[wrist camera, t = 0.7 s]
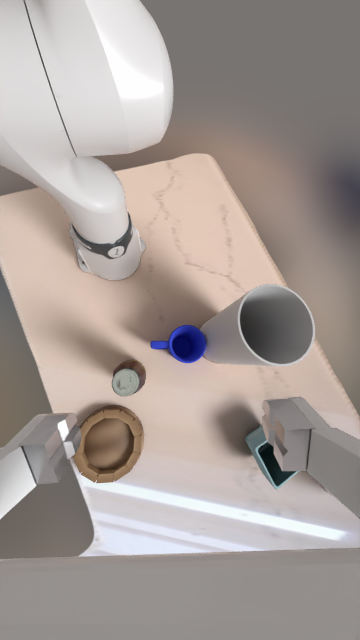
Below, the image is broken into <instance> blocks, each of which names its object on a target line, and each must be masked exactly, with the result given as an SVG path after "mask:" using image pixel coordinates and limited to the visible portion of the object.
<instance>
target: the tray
mask: <svg viewBox="0 0 360 640" xmlns="http://www.w3.org/2000/svg"><path fill="white" fill-rule="evenodd" d="M80 430H81V442H80V446H79V448H78V450H77V452H76V453H75V454H74V455H75V456H74V457H73V458H74V460H75V463H76V465H77V467H78V470H79V472H80V473H81V472H82V471H83V472H82V473H81V475H83V476H85V477H86V478H88V479H89V480H91V481H93V482H94V483H95V482H96V480H97V482H96V483H107V482H114V480H115V481H117V480H118V479H120V478H121V477H122V476H124V475H125V474H127V473H128V472H130V470H132V468H133V466H134V465H135V464H136V462H137V461H138V459H139V457H140V455H141V452H142V449H143V443H144V432H143V427H142V424H141V422H140V420H139V418H138V417H137V416H136V415H135V414H134V413H133V412H132V411H131V410H129V409H127V408H125V407H121V406H107V407H104V408H101V409H99V410H97V411H95V412H94V413H92V414H91V415H90V416H89V417H88V418H87V419H86V420H85V421H84V422H83V424H82V425H81V427H80Z"/></svg>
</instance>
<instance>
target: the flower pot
mask: <svg viewBox="0 0 360 640" xmlns="http://www.w3.org/2000/svg"><path fill="white" fill-rule="evenodd" d="M245 440H246V442H247V444H248V446H249V448H250V450H251V452H252V454H253V456H254V458H255V460H256V462H257V464H258V466H259V468H260V470H261V471H262V473H263V474H264V475H265V477H266V478H267V479H268V481H269V482H270V483H271V484H272V486H273V487H274V488H275V489H276V490H277V489H279V488H280V487H281V486H282V485H284V484H285V483H286V482H287V481H288V480H289V479H290V478H292V477H293V476H294V475H295V474H297V473H298V472H299V471H282V469H281V467H280V465H279V463H278V461H277V459H276V457H275V455H274V447H273V446H272V445H271V444H269V443H268V441H267V439H266V437H265V434H264V430H263V425H261V426H260V427H258V428H257V429H255V430H254V431H253V432H251V433H250V434H248V435H247V436H246V438H245ZM261 446H262V448H261Z"/></svg>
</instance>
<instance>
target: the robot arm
mask: <svg viewBox="0 0 360 640" xmlns="http://www.w3.org/2000/svg"><path fill="white" fill-rule="evenodd" d="M172 105H173V79H172V71H171V65H170V60H169V56H168V52H167V49H166V46H165V44H164V41H163V38H162V36H161V33H160V31H159V29H158V27H157V25H156V23H155V22H154V20H153V18H152V17H151V15H150V14H149V13H148V12H147V10H146V8H145V7H144V6H143V4H142V3H141V2H140V0H0V165H1V166H3V167H5V168H7V169H9V170H11V171H13V172H15V173H17V174H19V175H21V176H22V177H24V178H26V179H27V180H29V181H31V182H32V183H34V184H35V185H37V186H38V187H40V188H41V189H42V190H44V191H45V192H46V193H48V194H49V195H50V196H51V197H52V198H54V199H55V200H56V201H57V202H58V204H59V205H60V206H61V208H62V209H63V210H64V212H65V213H66V215H67V216H68V218H69V219H70V221H71V222H70V228H71V229H70V230H68V231H69V234H70V237H71V238H72V239H73V241H74V245H75V249H76V253H77V258H78V262H79V266H80V269H81V270H82V271H83V272H87V273H93V274H96V275H98V276H99V277H101V278H104V279H107V280H120V279H124V278H126V277H128V276H130V275H131V274H133V273H134V272H135V271H136V269H137V268H138V266H139V264H140V259H141V254H142V253H143V251H144V250H145V248H146V246H145V243H144V241H143V240H142V239H141V238H140V237H139V233H138V230H137V229H135V227H134V226H133V225H132V221H131V218H130V215H129V213H128V211H127V205H126V198H125V192H124V188H123V185H122V183H121V181H120V180H119V178H118V177H117V175H116V174H115V173H114V172H113V171H112V170H111V169H110V168H109V167H108V166H107V165H106V164H105V163H103V162H101V161H100V160H98V159H96V158H94V157H91V156H97V155H98V156H99V155H113V154H125V153H131V152H134V151H137V150H140V149H143V148H146V147H148V146H151V145H154V144H156V143H159V142H160V141H161V139H162V137H163V136H164V134H165V132H166V129H167V127H168V124H169V121H170V117H171V112H172ZM83 262H85V264H83ZM262 409H263V410H264V412H265V414H264V416H263V417H262V425H263V430H264V434H265V437H266V439H267V441H268V443H269V444H271V445H272V446H273V447H274V455H275V457H276V459H277V461H278V463H279V465H280V467H281V469H282V471H307V473H309V474H310V475H311V476H312V477H313V478H314V479H315V480H316V481H318V482H319V483H320V484H321V485H322V486H323V487H324V488H326V489H327V490H328V491H329V492H330V493H331V494H332V495H333V496H335V497H336V498H337V499H338V500H339V501H340V502H341V503H342V504H344V505H345V506H346V507H347V508H348V509H349V510H350V511H352V512H353V513H354V514H355V515H356V516H357V517H358V518H359V519H360V440H359V439H357V438H355V437H353V436H351V435H349V434H347V433H345V432H343V431H341V430H339V429H337V428H331V427H330V426H329V425H328V424H327V423H326V422H325V421H324V420H323V418H322V417H321V416H320V415H319V414H318V413H317V412H316V411H315V410H314V409H313V408H312V407H311V406H310V405H309V404H308V403H307V401H306V400H305V399H304V398H302V397H294V398H288V399H287V398H286V399H272V400H263V405H262ZM76 422H77V417H76V414H74V413H53V414H40V415H37V416H35V417H34V418H33V419H32V420H31V421H30V422H29V423H28V424H27V425H26V426H25V427H24V428H23V429H22V430H21V431H20V432H19V433H18V434H17V435H16V436H15V437H14V438H13V439H12V440H11V441H10V442H9V443H8V444H7V445H6V446H5V447H2V448H0V519H1V518H2V517H3V516H4V515H5V514H6V513H7V512H8V511H9V510H10V509H11V508H13V507H14V506H15V505H16V504H17V503H18V502H19V501H20V500H21V499H22V498H23V497H25V495H27V493H29V492H30V491H31V490H32V489H33V488H34V487H35V486H36V484H45V483H57V482H59V481H60V479H61V477H62V475H63V474H64V472H65V470H66V469H67V467H68V465H69V459H70V458H71V457H72V456H73V455H74V454H75V453H76V452H77V450H78V448H79V446H80V442H81V430H80V428H79V427H78V426H76V425H75V424H76ZM0 640H360V548H338V549H307V550H275V551H243V552H211V553H179V554H148V555H118V556H88V557H58V558H30V559H29V558H26V559H0Z"/></svg>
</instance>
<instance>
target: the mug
mask: <svg viewBox="0 0 360 640" xmlns="http://www.w3.org/2000/svg"><path fill="white" fill-rule="evenodd" d="M151 348H152V349H168V350H169V352H170V354H171V355H172V356H173V357H174V358H175V359H177V360H178V361H180V362H183V363H192V362H195V361H197V360H199V359H200V358H201V357H202V356H203V354H204V352H205V349H206V340H205V337H204V335H203V333H202V332H201V331H200V330H199V329H198V328H196V327H194V326H191V325H183V326H180V327H178V328H176V329H175V330H174V331H173V332H172V334H171V336H170V338H169V341H151Z"/></svg>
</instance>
